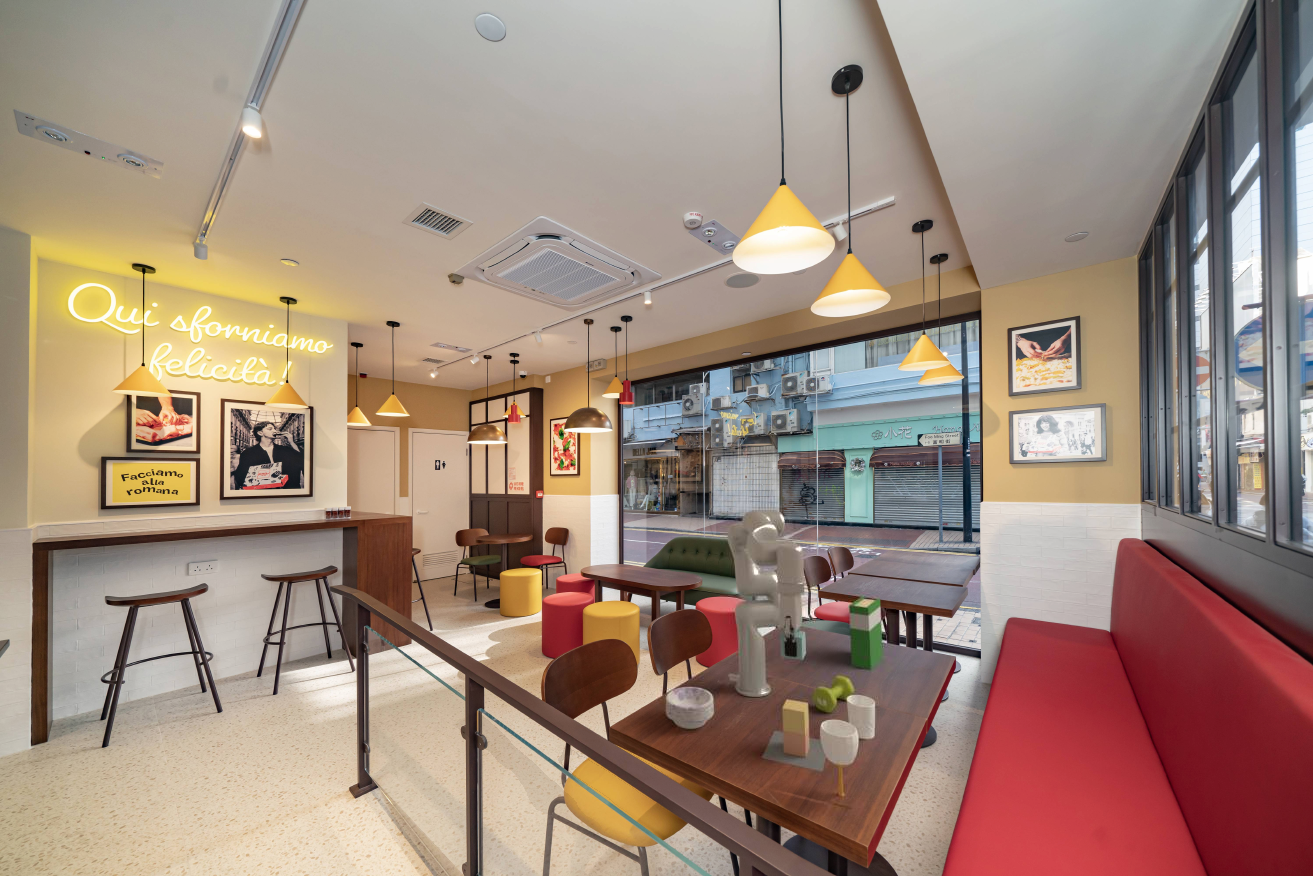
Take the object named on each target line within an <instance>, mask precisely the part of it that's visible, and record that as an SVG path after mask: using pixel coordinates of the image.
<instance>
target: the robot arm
mask: <svg viewBox="0 0 1313 876" xmlns="http://www.w3.org/2000/svg"><path fill="white" fill-rule="evenodd" d="M741 521H742V522H735V523H732V524H731V525H729V526H728V529H727V532H726V534H727V538H726V539H727V543H728V546H729V549H730V551H731V554H732V557H733V562H734V573H735V583H736V590H737V592H738V594H739V595H740V596H742V597H766V599H757V600H756V599H755V600H754V599H753V600H743V601H740V602H738V603H736V605H735V608H734V616H735V623H736V628H737V642H738V643H737V645H738V673H737V674H733V673H728V676H727V677H728V680H729V682H731V683H735V685H734V687H735V691H736V692H737V693H738V694H740V695H742V696H745V697H751V698H759V697H765V696H767V695H769V694H770V693H771V690H772V689H771V686H770V685H769V683H768V682H767V675H766V673H767V671H766V643H765V639H764V637H763V635H762V634H761V632H759V630H758V629H761V628H776V627H779V630H780V631H783V630H784V629H785V641H784V642H785V655H786V656H791V657H796V656H797V645H796V642H795V632H796V631H801V626H802V623H803V603H802V596H803V595H805V570H804V569H805V568H804V566H805V565H804V549H803V547H802V546H801V545H799V544H797V543H796V542H795V541H793V540H789V539H788V540H787V539H785V540H778V539H779V538H780V537H781V535H782V533H784V530H785V527H786V522H785V517H784V515H783V514H782V512H780V510H776V509H758V510H757V509H756V510H755V509H754V510H750V511H748V512H746V513H745V514H744V515H743V517H742V519H741ZM759 567H776V571H774V570H773V569H767V568H765V569H760V568H759ZM790 633H793V637H792V634H790Z"/></svg>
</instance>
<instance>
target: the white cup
mask: <svg viewBox="0 0 1313 876" xmlns="http://www.w3.org/2000/svg"><path fill="white" fill-rule="evenodd" d="M846 707H847V718H848V723H850V724H852V725H853V726H854V727H855V728H856V730H857V733H858V738H859V739H861V740H862V739H863V740H870V739H873V738H874V737H875V734H876V733H875V727H876V702H875V700H874V699H873V698H871V697H868V696H866V695H860V694H853V695H851V696H849V697H847V700H846Z"/></svg>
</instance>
